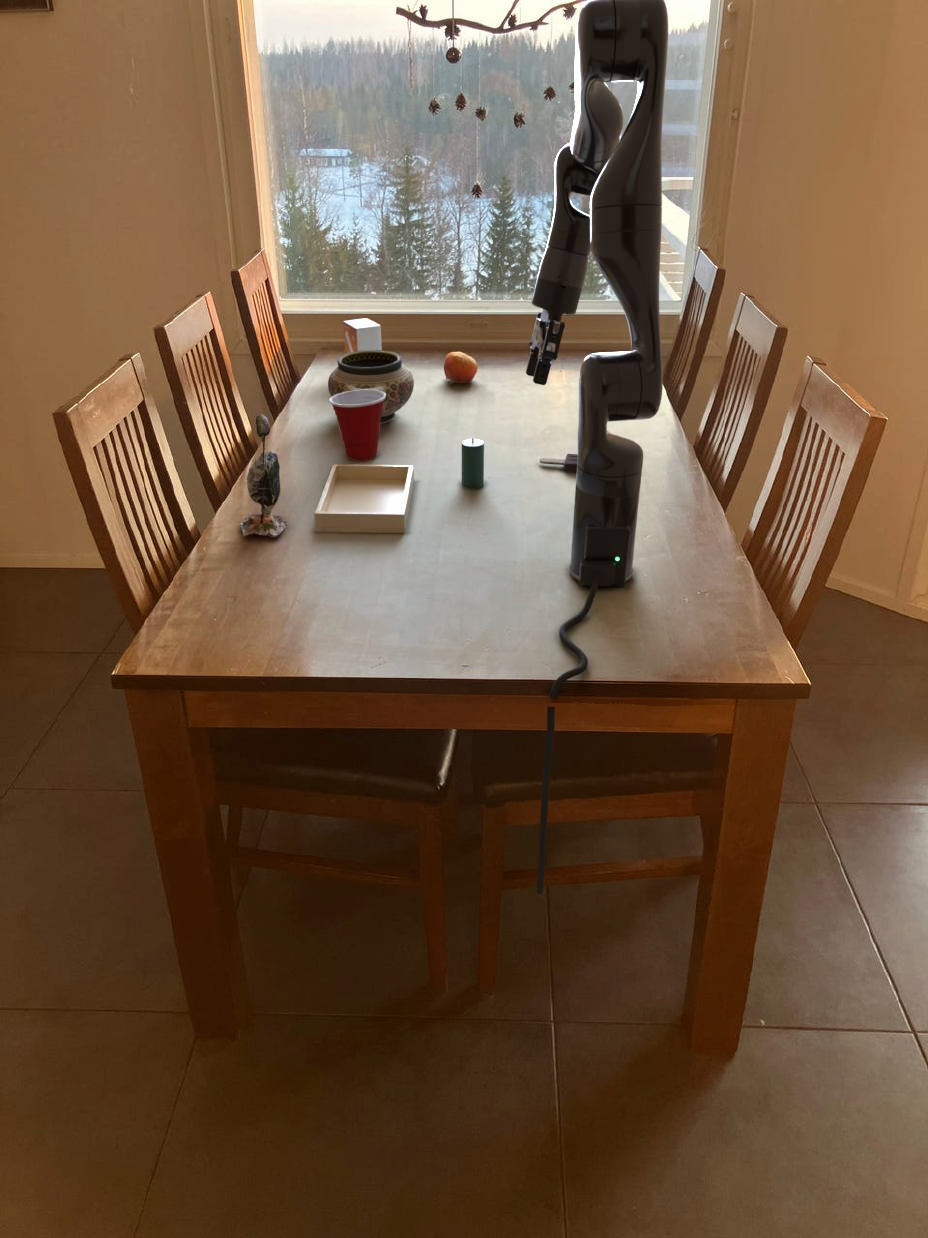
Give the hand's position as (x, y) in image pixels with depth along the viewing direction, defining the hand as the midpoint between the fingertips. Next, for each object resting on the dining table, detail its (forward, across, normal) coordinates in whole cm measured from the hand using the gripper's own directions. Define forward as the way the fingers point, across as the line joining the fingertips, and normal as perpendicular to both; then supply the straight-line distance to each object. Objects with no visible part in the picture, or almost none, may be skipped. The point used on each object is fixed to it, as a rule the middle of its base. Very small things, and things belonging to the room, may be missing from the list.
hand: (535, 379), depth 165 cm
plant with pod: (+32, +8, -39) cm, 51 cm away
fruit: (+12, -70, -5) cm, 71 cm away
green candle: (+21, -7, -5) cm, 23 cm away
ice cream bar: (+16, -14, +15) cm, 26 cm away
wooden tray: (+27, +1, -23) cm, 36 cm away
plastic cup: (+24, -23, -26) cm, 42 cm away
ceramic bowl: (+21, -45, -24) cm, 55 cm away
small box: (+17, -74, -27) cm, 81 cm away
